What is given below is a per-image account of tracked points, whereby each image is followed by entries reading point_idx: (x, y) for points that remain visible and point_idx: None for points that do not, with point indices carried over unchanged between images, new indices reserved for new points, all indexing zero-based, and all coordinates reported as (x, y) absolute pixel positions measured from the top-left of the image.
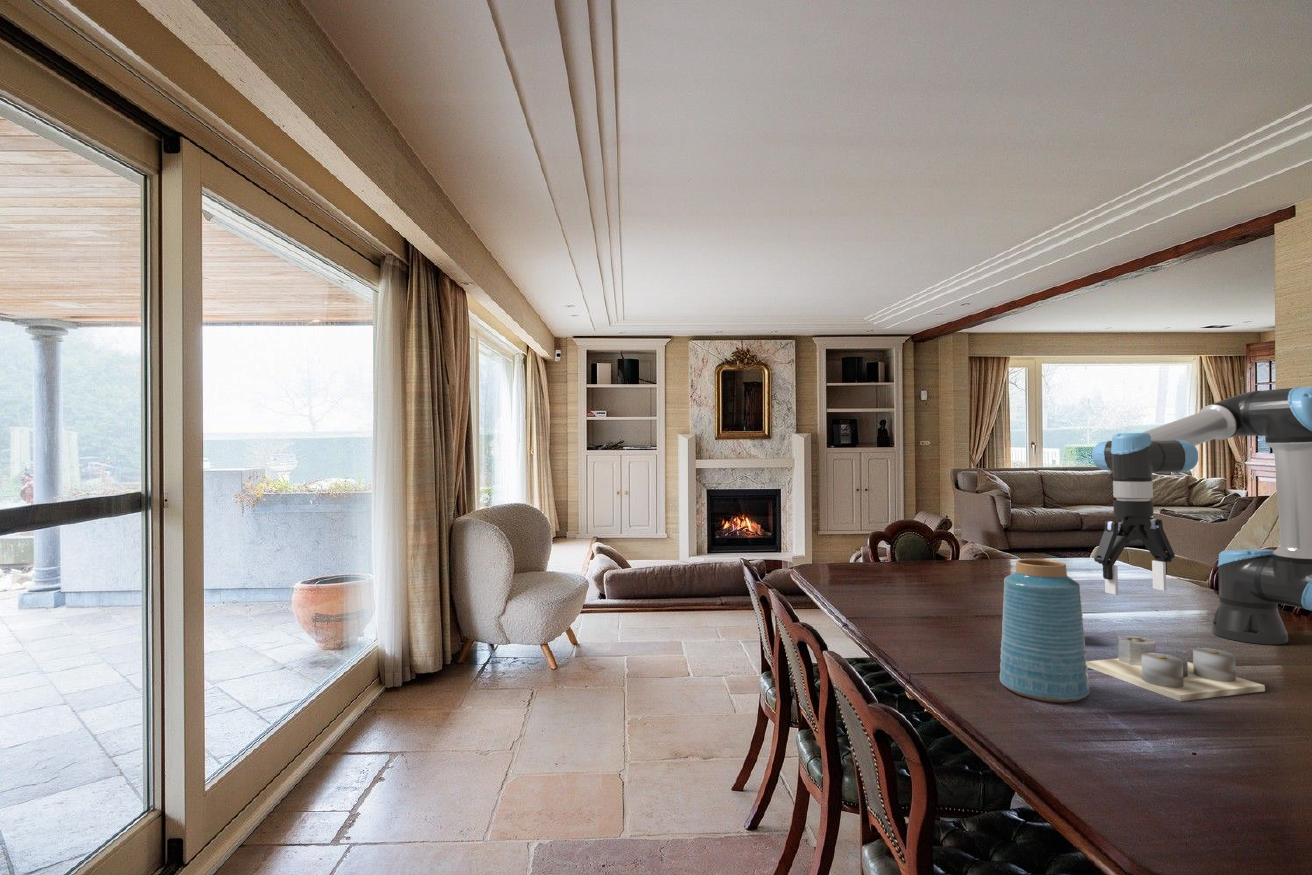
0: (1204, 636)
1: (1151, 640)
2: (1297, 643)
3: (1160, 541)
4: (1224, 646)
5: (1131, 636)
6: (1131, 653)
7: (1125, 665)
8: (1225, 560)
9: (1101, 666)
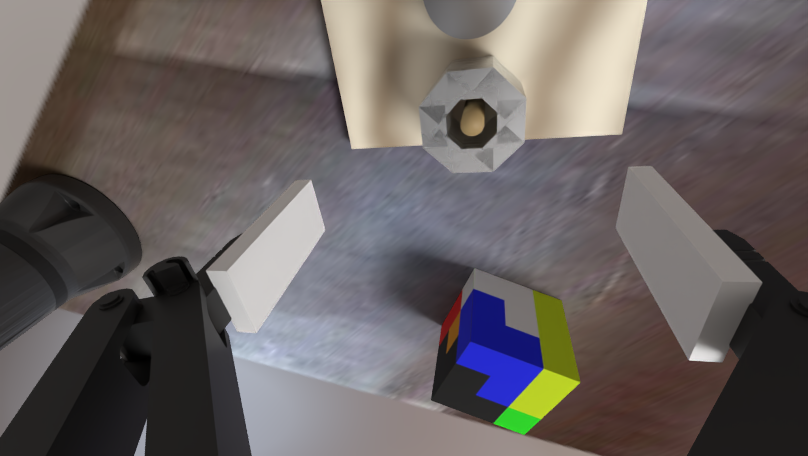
0: (166, 248)
1: (429, 108)
2: (19, 174)
3: (90, 444)
4: (163, 190)
5: (453, 159)
6: (520, 87)
7: (541, 78)
8: None
9: (626, 82)
